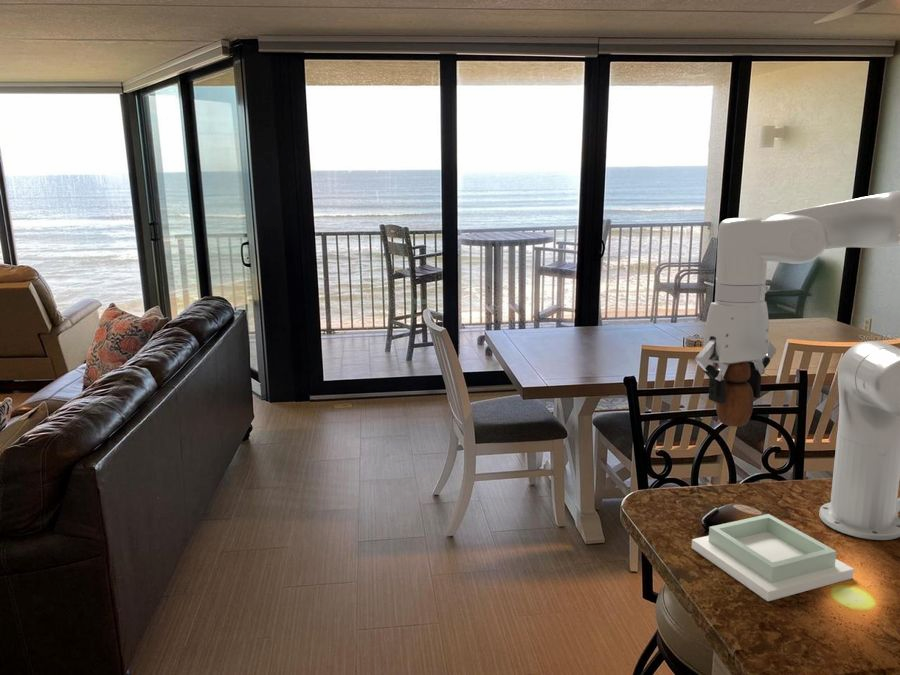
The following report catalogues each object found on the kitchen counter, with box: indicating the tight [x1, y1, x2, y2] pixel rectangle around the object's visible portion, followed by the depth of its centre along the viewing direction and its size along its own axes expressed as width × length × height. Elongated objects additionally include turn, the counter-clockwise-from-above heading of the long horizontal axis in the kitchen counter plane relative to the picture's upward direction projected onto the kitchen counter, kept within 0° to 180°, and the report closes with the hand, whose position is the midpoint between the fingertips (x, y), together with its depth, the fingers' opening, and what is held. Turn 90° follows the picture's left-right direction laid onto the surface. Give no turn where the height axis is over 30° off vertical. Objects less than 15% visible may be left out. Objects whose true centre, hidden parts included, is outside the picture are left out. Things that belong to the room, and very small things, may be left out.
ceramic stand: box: [691, 513, 855, 602], centre depth 104 cm, size 16×16×4 cm
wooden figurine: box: [714, 362, 755, 428], centre depth 114 cm, size 7×6×15 cm
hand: (734, 397), depth 114 cm, fingers closed on wooden figurine, 6 cm apart
